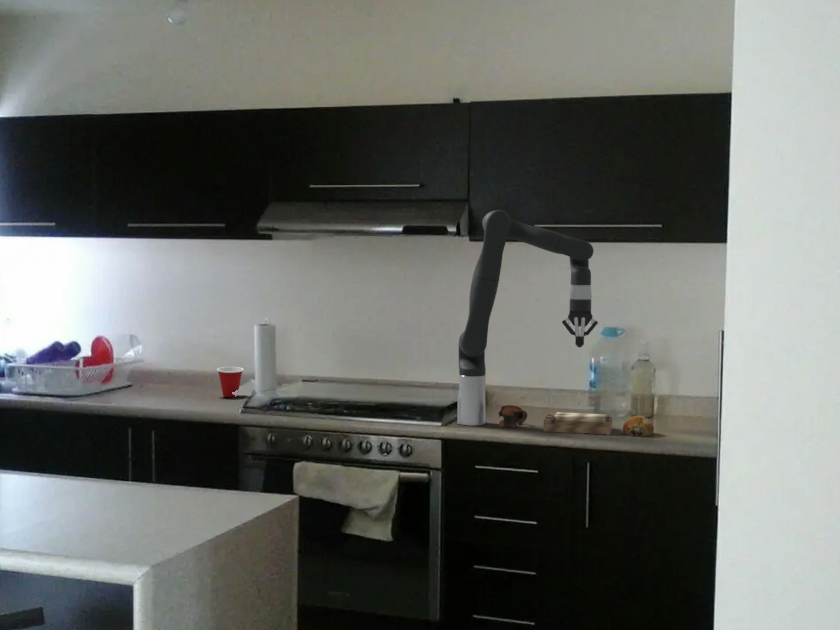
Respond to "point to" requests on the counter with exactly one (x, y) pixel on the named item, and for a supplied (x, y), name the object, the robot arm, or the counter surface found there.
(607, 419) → the hinged leg
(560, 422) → the wooden slat frame
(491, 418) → the counter surface
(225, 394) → the plastic cup
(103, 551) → the counter surface
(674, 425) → the counter surface
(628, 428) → the bread roll
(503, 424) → the pottery mug
